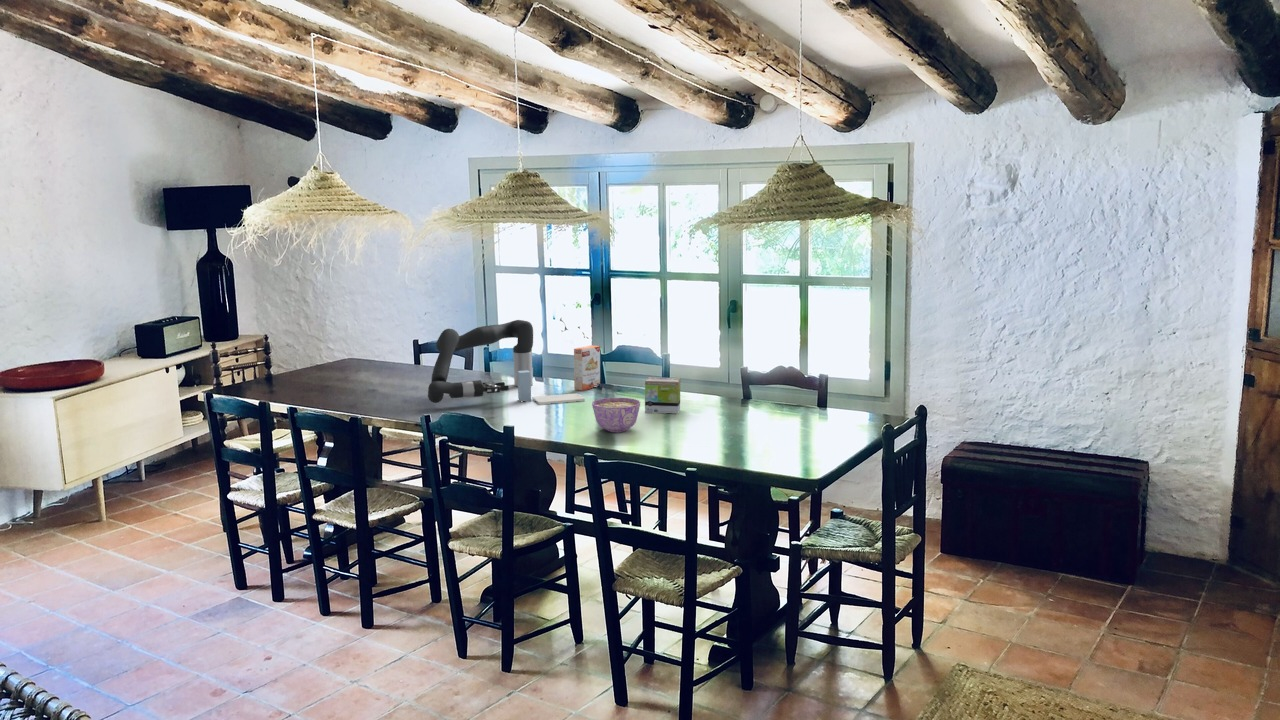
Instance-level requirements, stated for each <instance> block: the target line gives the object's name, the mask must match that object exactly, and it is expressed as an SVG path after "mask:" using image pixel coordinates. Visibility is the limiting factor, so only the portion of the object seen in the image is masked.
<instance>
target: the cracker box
mask: <svg viewBox="0 0 1280 720" xmlns="http://www.w3.org/2000/svg"><path fill="white" fill-rule="evenodd" d="M573 372H574V373H573V376H574V377H573V385H574V389H573V390H575V391H580V390H581V391H580V392H583V391H587V390H592V389H594V388H593V387H594V386H598V385H594V384H597V383H599V384H600V385H601V346H599V345H586V346H581V347H576V348H573ZM591 388H592V389H591Z"/></svg>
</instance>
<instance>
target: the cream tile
mask: <svg viewBox="0 0 1280 720" xmlns="http://www.w3.org/2000/svg"><path fill="white" fill-rule="evenodd" d="M532 399H533V400H532ZM585 399H586V398H585V397H583V396H581V395H580V394H579V393H567V394H566V393H565V394H552V395H541V396H531V400H532V401H534V402H535V401H536V402H537V403H538V404H537V403H536V402H535V403H536V404H537V405H539V404H544V405H552V404H551V403H556V404H566V402H568V403H577V402H576V401H579V402H586V401H585Z"/></svg>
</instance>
